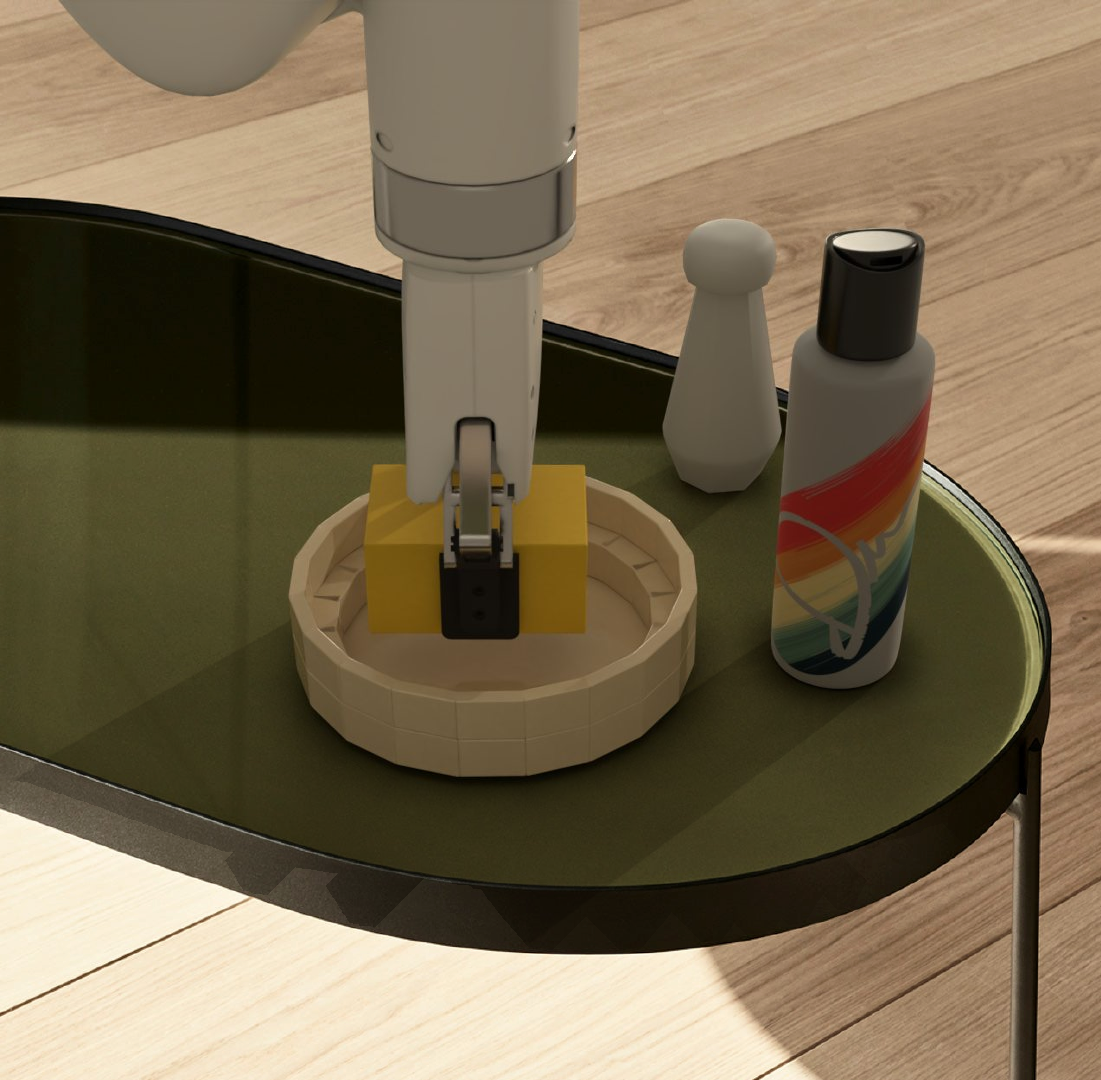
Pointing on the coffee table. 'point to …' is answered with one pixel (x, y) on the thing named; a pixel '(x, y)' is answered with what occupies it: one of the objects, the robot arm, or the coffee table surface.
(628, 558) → the bowl
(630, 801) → the coffee table surface
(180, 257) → the coffee table surface
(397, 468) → the sponge
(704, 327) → the salt shaker
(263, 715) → the coffee table surface
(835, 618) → the striped bottle
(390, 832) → the coffee table surface
